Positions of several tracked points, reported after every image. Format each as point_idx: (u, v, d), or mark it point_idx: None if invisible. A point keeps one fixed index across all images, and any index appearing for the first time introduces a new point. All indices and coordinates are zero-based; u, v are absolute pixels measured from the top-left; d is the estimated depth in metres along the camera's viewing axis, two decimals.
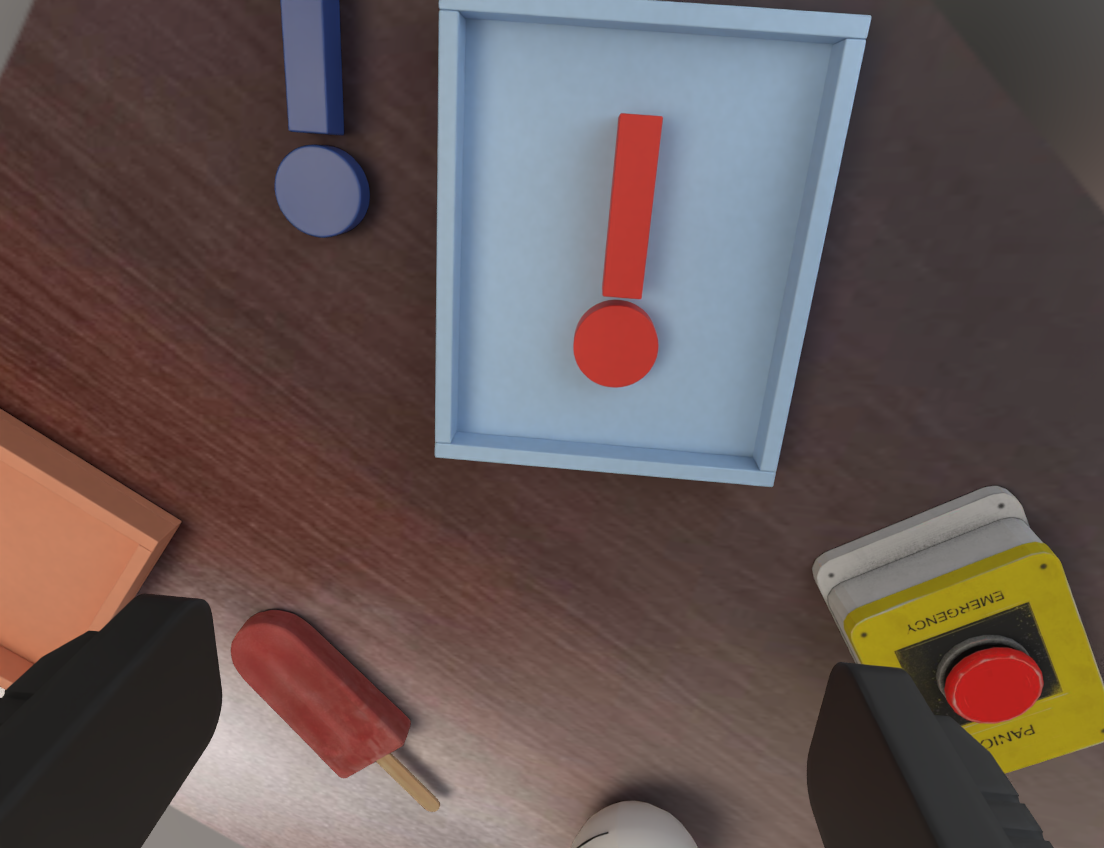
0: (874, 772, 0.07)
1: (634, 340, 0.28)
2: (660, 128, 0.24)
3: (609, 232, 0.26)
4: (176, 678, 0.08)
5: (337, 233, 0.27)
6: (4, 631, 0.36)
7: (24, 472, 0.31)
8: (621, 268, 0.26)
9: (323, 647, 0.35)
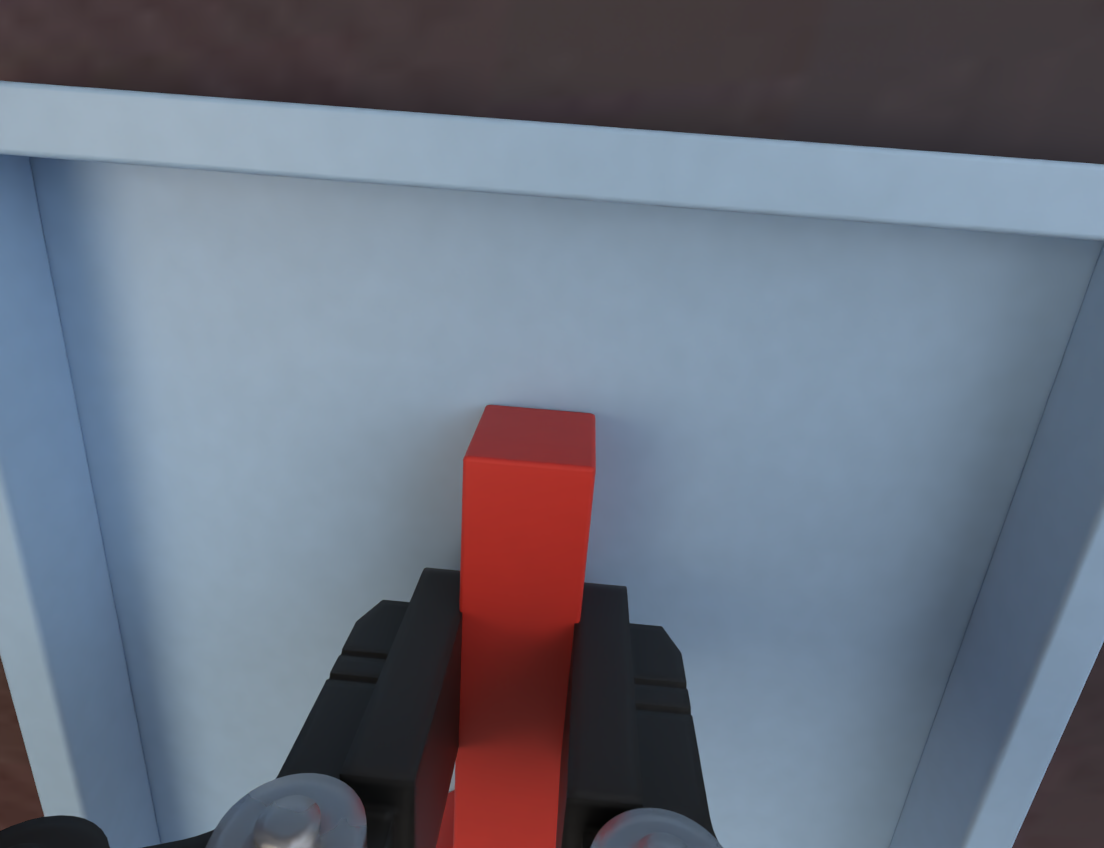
0: (570, 665, 0.08)
1: None
2: (588, 499, 0.08)
3: None
4: None
5: None
6: None
7: None
8: (496, 805, 0.10)
9: None
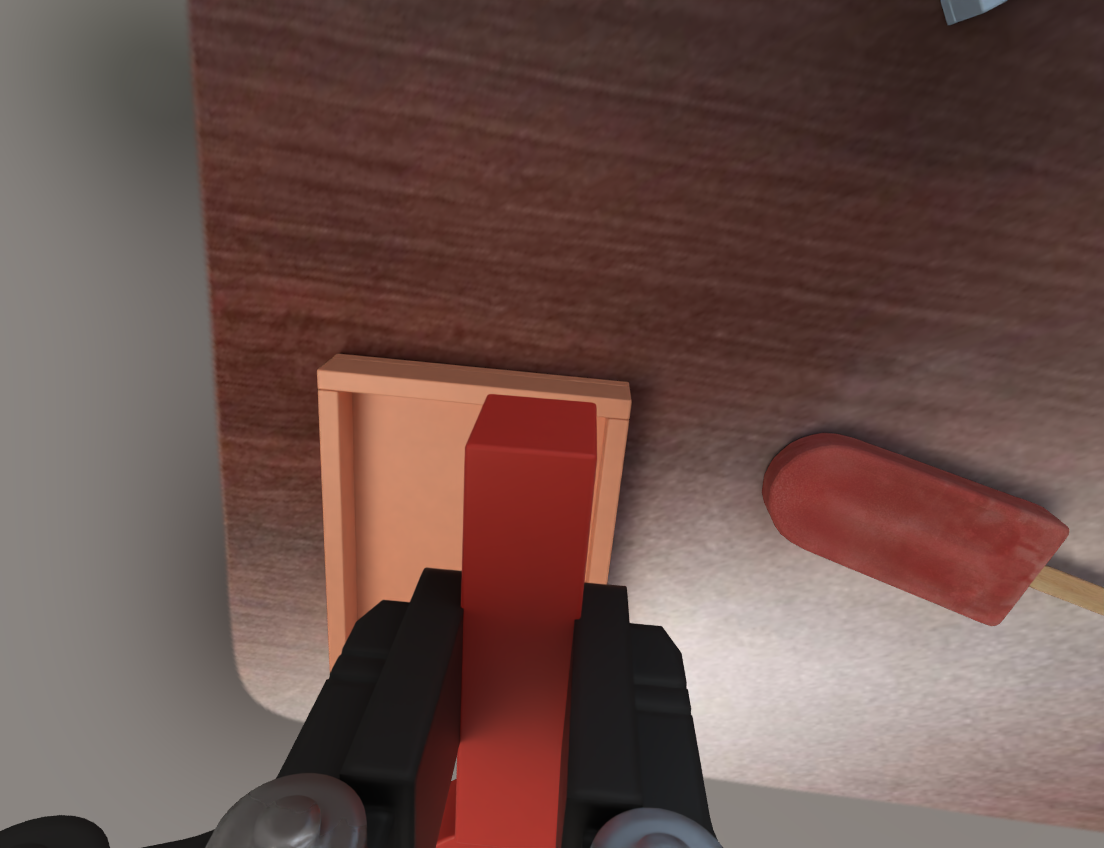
0: (570, 665, 0.08)
1: None
2: (590, 487, 0.08)
3: (460, 718, 0.09)
4: None
5: None
6: None
7: (435, 398, 0.23)
8: (498, 792, 0.10)
9: (888, 454, 0.24)
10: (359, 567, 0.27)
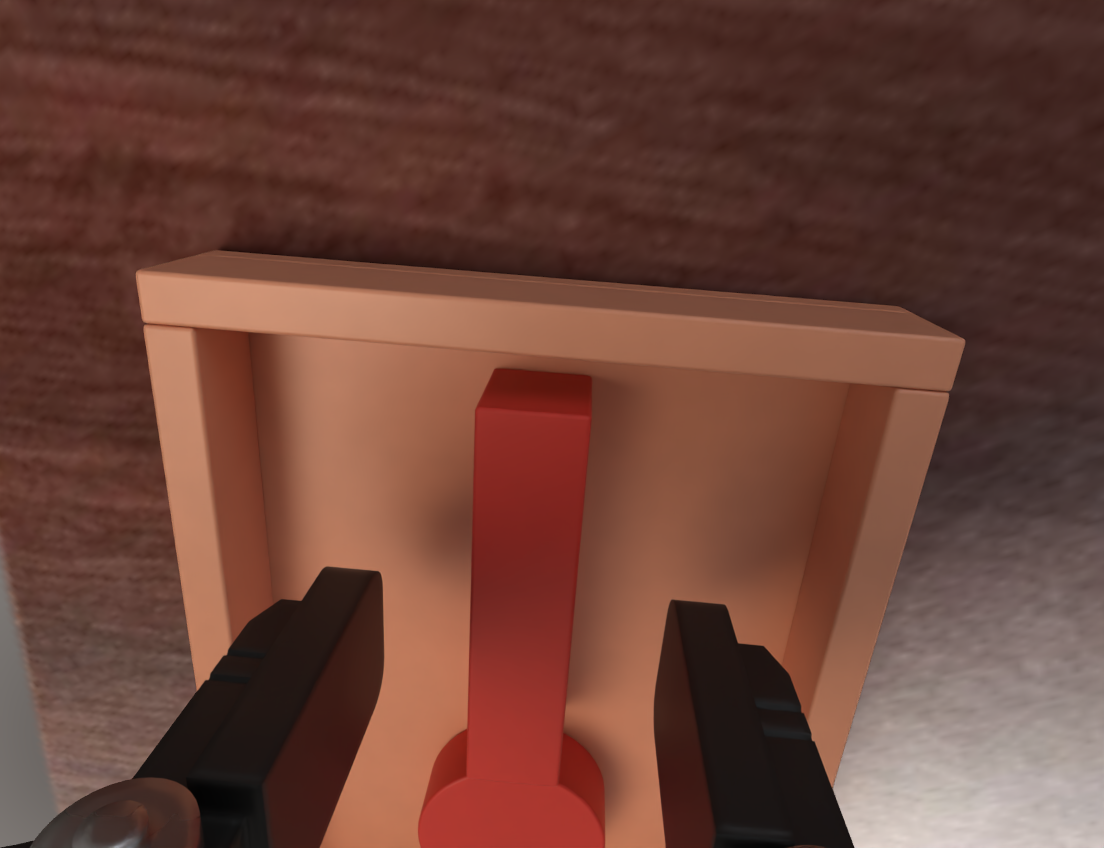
0: (679, 688, 0.08)
1: (550, 831, 0.12)
2: (585, 445, 0.09)
3: (470, 660, 0.10)
4: (364, 642, 0.09)
5: None
6: None
7: (445, 341, 0.09)
8: (505, 730, 0.11)
9: None
10: None
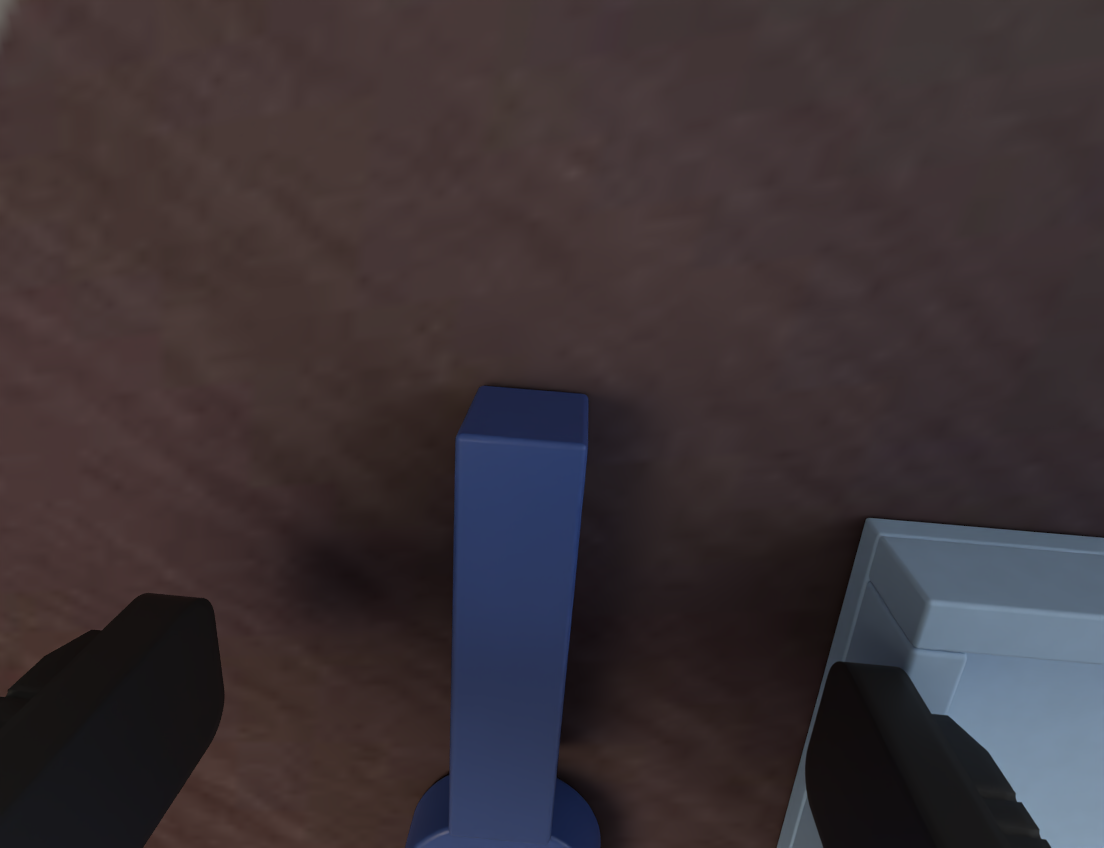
0: (871, 771, 0.07)
1: None
2: None
3: None
4: (180, 677, 0.08)
5: None
6: None
7: None
8: None
9: None
10: None
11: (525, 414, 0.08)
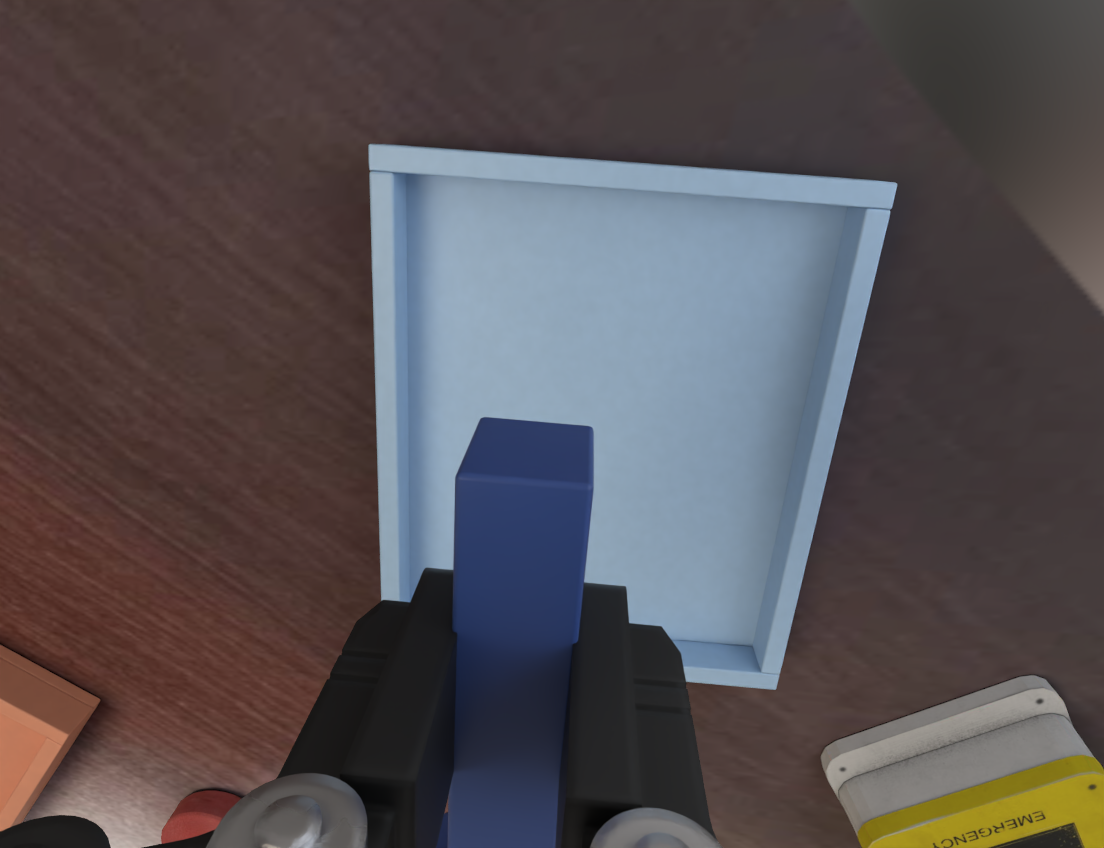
0: None
1: None
2: None
3: None
4: None
5: None
6: None
7: None
8: None
9: None
10: None
11: (528, 450, 0.08)
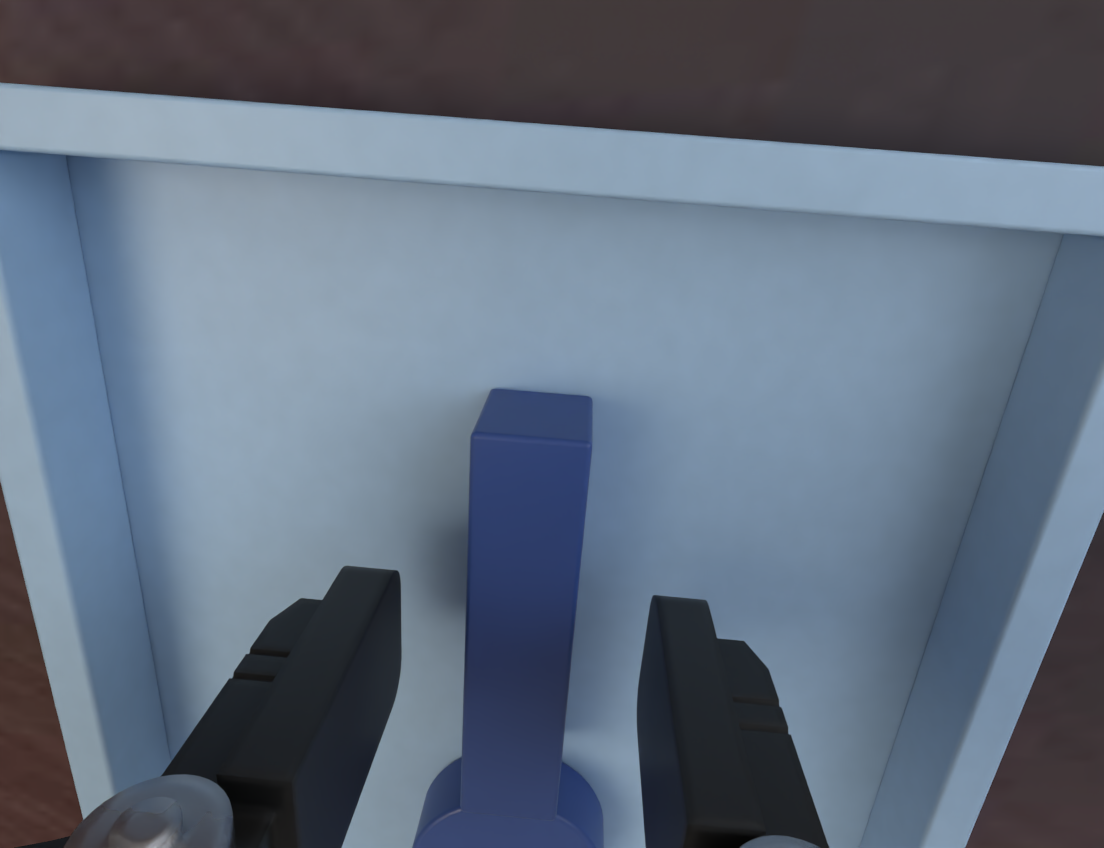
0: (658, 683, 0.08)
1: None
2: None
3: None
4: (383, 641, 0.09)
5: None
6: None
7: None
8: None
9: None
10: None
11: (534, 415, 0.09)
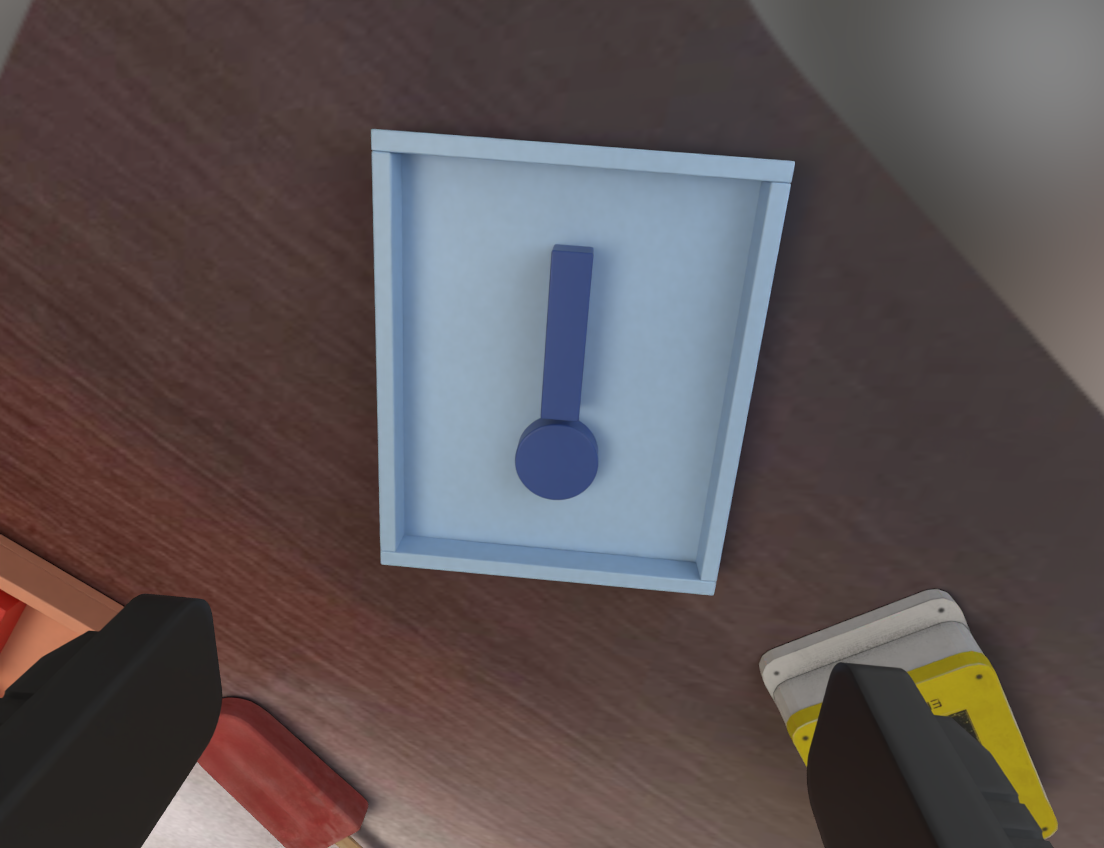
0: (874, 772, 0.07)
1: None
2: (2, 616, 0.32)
3: None
4: (177, 678, 0.08)
5: (571, 497, 0.29)
6: None
7: None
8: None
9: (280, 735, 0.36)
10: None
11: (572, 248, 0.25)
